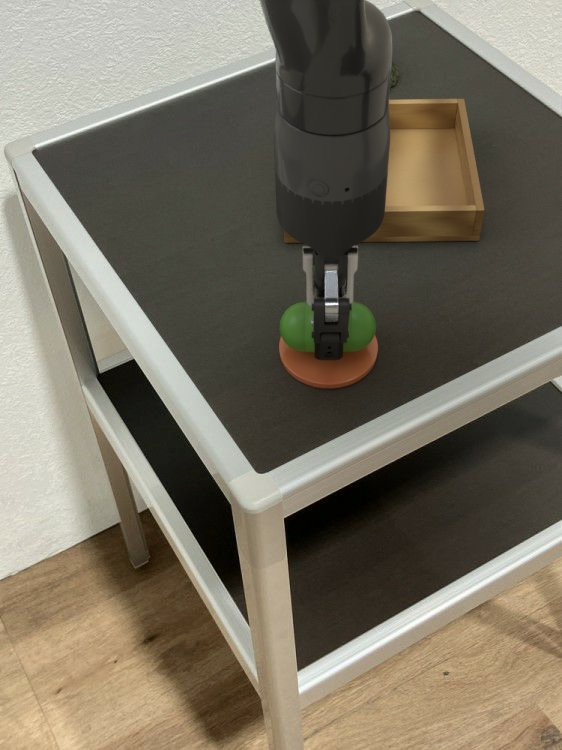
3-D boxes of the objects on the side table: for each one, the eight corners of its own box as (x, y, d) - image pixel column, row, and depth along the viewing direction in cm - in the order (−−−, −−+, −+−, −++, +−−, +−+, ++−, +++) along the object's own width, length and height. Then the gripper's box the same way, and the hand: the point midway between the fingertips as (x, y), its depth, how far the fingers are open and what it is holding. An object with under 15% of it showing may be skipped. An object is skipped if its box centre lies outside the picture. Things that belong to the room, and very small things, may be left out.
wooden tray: (459, 129, 97) (464, 98, 94) (479, 241, 86) (484, 210, 83) (286, 131, 97) (285, 101, 94) (284, 243, 87) (283, 212, 84)
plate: (375, 314, 81) (375, 309, 80) (380, 388, 76) (380, 383, 75) (279, 314, 81) (279, 310, 81) (278, 389, 76) (278, 384, 76)
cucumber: (373, 324, 79) (376, 290, 76) (375, 362, 76) (378, 328, 73) (280, 325, 79) (279, 291, 76) (279, 363, 77) (278, 329, 74)
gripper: (395, 233, 59) (379, 405, 72) (382, 96, 68) (371, 271, 81) (272, 234, 59) (279, 405, 73) (276, 98, 68) (281, 272, 82)
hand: (328, 333), depth 77 cm, fingers closed on cucumber, 4 cm apart
